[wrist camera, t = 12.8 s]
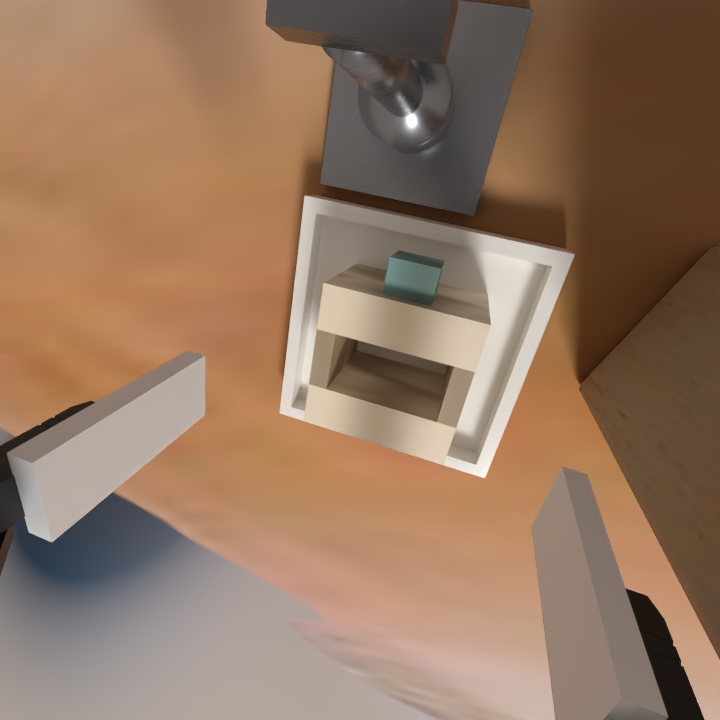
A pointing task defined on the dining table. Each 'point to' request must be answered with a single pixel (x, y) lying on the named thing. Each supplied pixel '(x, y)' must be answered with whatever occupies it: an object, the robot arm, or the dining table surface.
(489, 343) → the tray
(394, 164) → the grey lever faucet
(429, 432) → the collar
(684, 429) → the wooden block
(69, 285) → the dining table surface
